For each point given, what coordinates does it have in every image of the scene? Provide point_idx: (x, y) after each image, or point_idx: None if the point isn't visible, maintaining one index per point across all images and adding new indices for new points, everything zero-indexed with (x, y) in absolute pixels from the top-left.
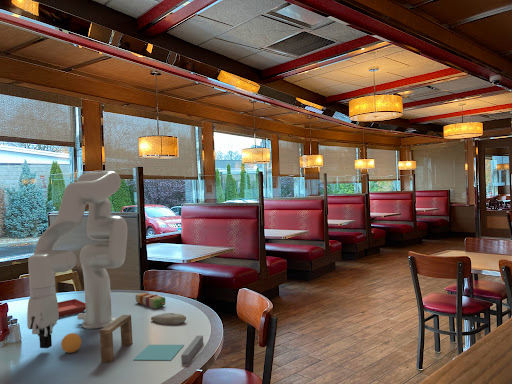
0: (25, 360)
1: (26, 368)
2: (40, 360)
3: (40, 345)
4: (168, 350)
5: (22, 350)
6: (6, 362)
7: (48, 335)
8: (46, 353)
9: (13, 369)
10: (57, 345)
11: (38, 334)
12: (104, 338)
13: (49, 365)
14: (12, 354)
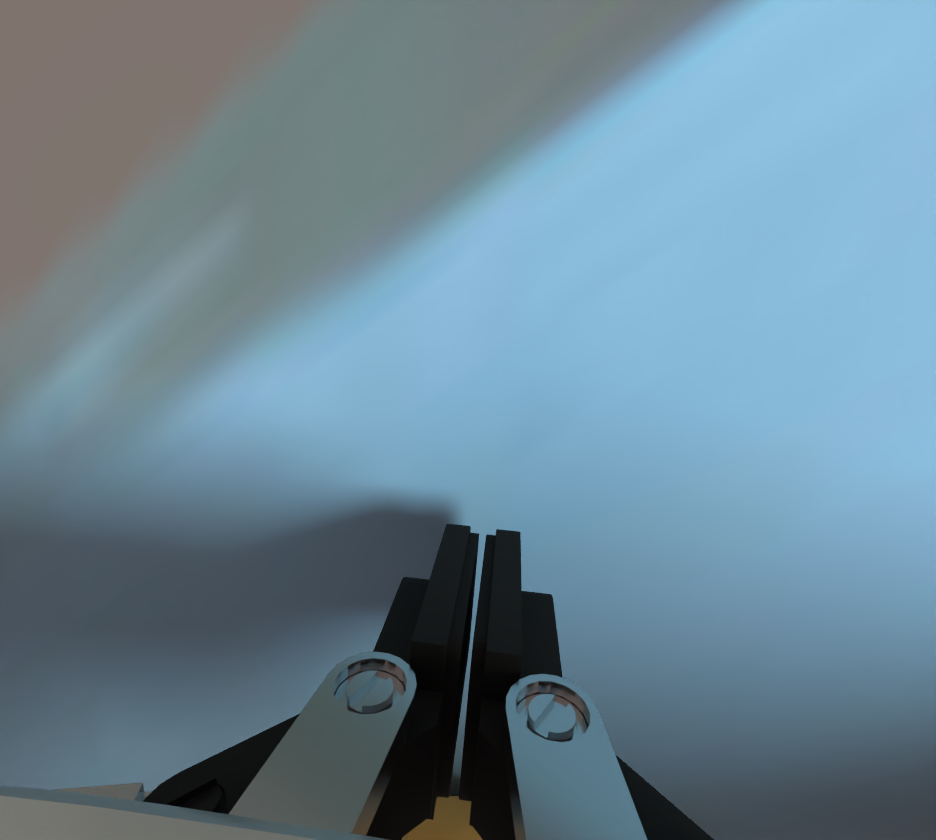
0: (229, 437)
1: (50, 575)
2: (243, 611)
3: (444, 545)
4: None
5: (577, 137)
6: (150, 210)
7: (434, 807)
8: None
9: (4, 451)
10: (711, 581)
11: (255, 753)
12: None
13: (144, 751)
14: (418, 75)
